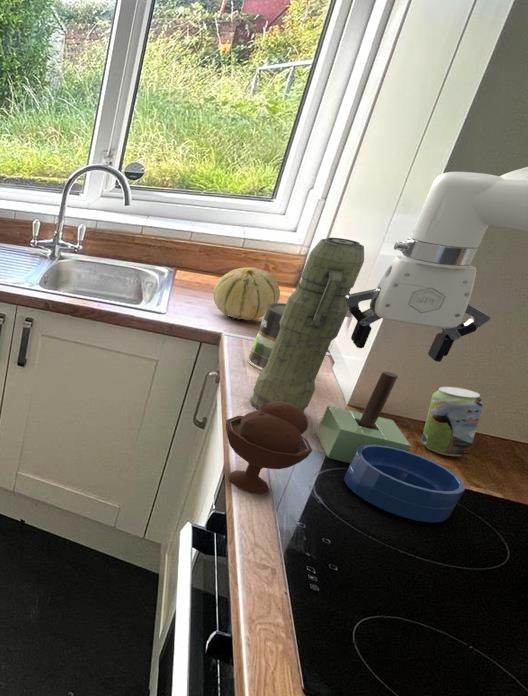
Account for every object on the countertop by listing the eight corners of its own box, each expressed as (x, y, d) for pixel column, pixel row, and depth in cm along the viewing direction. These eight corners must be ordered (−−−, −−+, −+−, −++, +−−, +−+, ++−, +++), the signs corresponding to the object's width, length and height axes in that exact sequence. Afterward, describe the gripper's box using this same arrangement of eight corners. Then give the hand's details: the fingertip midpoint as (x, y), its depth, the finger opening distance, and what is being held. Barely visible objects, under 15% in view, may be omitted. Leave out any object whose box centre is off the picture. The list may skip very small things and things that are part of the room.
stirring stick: (358, 451, 104) (396, 373, 98) (361, 457, 103) (400, 378, 97) (344, 448, 105) (380, 370, 99) (347, 453, 104) (384, 374, 98)
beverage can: (464, 465, 101) (498, 406, 97) (407, 446, 107) (436, 389, 102) (466, 452, 105) (499, 395, 101) (411, 434, 110) (439, 378, 106)
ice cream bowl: (216, 454, 102) (244, 379, 96) (295, 485, 95) (330, 406, 89) (200, 480, 95) (229, 401, 89) (284, 516, 88) (321, 432, 82)
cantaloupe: (266, 316, 166) (285, 266, 161) (271, 332, 155) (292, 279, 149) (206, 304, 173) (221, 256, 168) (206, 319, 162) (223, 268, 156)
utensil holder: (379, 448, 106) (393, 420, 103) (396, 475, 98) (411, 445, 96) (315, 432, 110) (327, 405, 107) (327, 457, 102) (340, 429, 100)
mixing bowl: (429, 490, 95) (445, 459, 93) (460, 537, 85) (480, 504, 83) (334, 465, 100) (348, 436, 98) (353, 507, 90) (369, 475, 88)
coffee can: (242, 365, 135) (263, 309, 130) (252, 353, 142) (271, 299, 137) (297, 382, 129) (321, 323, 123) (304, 368, 136) (327, 312, 130)
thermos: (295, 400, 121) (363, 237, 108) (310, 428, 111) (386, 252, 98) (244, 389, 125) (304, 230, 111) (254, 415, 115) (321, 244, 101)
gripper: (373, 250, 92) (334, 348, 98) (529, 268, 84) (476, 373, 90) (359, 240, 98) (324, 333, 104) (504, 256, 90) (455, 355, 97)
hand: (394, 351), depth 97 cm, fingers open, 9 cm apart
